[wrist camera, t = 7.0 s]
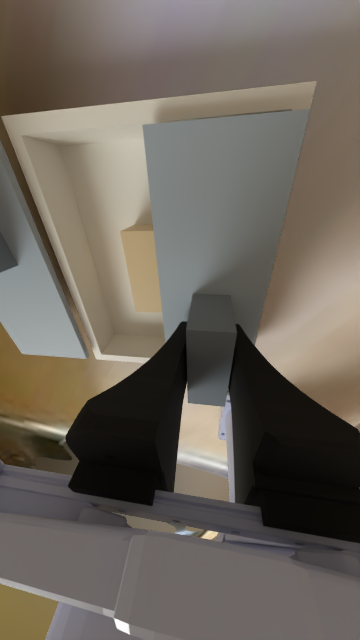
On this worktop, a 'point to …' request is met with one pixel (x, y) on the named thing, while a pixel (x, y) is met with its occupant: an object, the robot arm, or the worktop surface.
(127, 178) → the carton
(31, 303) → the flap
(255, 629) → the robot arm
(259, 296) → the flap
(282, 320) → the worktop surface
